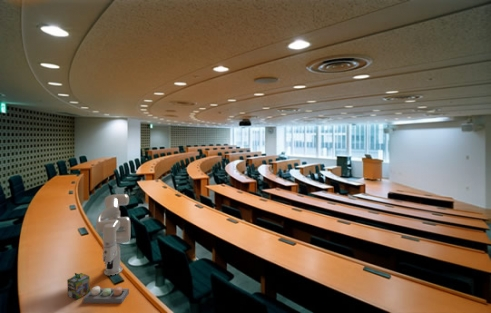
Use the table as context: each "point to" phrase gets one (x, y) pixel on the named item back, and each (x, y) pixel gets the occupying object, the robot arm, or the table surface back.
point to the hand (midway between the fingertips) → (110, 268)
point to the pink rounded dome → (117, 291)
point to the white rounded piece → (95, 291)
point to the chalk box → (78, 286)
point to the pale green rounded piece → (107, 292)
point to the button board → (104, 299)
